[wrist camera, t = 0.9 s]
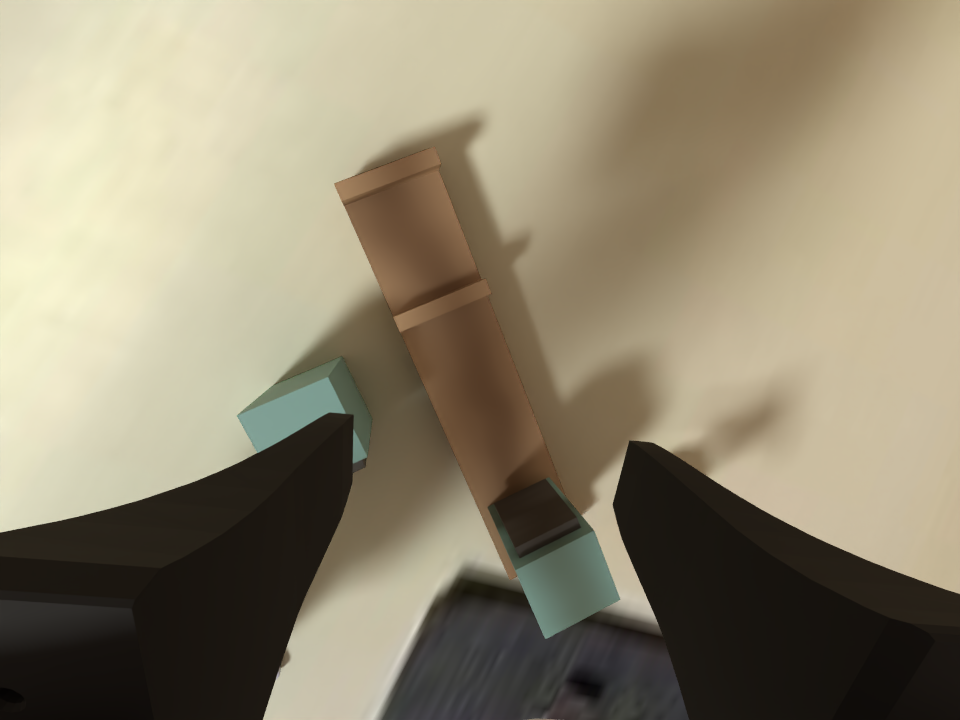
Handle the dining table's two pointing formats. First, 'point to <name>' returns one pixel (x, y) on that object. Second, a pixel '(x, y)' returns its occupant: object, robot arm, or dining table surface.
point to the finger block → (309, 408)
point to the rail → (476, 386)
